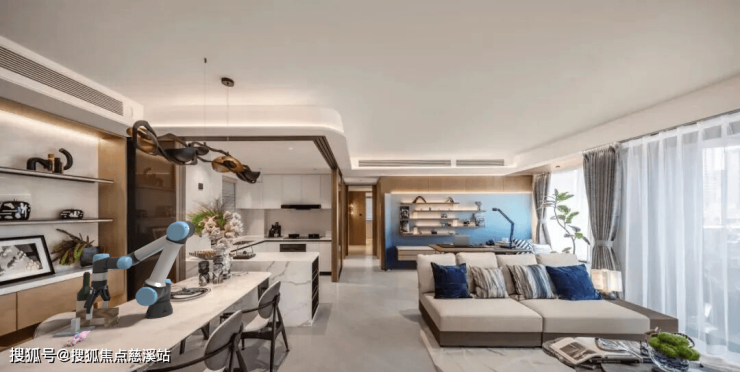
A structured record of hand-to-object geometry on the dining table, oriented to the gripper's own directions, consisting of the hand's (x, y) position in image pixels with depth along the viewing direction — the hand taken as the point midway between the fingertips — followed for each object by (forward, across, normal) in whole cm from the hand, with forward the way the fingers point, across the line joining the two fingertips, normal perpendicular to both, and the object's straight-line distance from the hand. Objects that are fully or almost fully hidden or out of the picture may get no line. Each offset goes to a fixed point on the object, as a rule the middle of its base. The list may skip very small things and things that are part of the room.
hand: (96, 315), depth 188 cm
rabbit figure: (+6, +26, +7) cm, 27 cm away
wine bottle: (+6, -16, -16) cm, 24 cm away
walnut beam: (+1, 0, 0) cm, 1 cm away
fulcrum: (+6, +10, -5) cm, 13 cm away
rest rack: (+6, 0, 0) cm, 6 cm away
